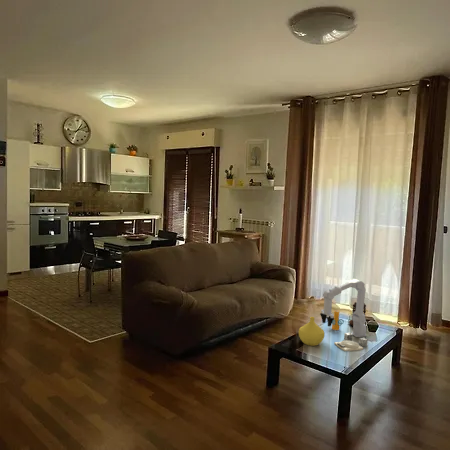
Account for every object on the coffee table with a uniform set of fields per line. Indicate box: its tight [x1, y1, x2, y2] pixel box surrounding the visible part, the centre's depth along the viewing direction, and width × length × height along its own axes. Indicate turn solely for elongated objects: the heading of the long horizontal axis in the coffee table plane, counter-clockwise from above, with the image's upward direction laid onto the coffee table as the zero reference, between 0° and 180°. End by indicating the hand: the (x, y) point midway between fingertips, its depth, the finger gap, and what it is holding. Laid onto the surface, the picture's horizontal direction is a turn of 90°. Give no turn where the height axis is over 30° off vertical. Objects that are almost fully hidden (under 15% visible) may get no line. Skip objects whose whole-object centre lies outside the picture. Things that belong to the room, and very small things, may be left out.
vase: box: [298, 316, 325, 347], centre depth 278 cm, size 18×18×19 cm
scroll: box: [348, 301, 367, 326], centre depth 321 cm, size 15×15×20 cm
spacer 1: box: [343, 332, 353, 341], centre depth 288 cm, size 4×4×5 cm
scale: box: [333, 340, 364, 352], centre depth 276 cm, size 15×13×2 cm
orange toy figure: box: [331, 309, 345, 331], centre depth 311 cm, size 12×10×15 cm
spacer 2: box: [358, 337, 368, 348], centre depth 279 cm, size 4×4×5 cm
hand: (326, 324), depth 291 cm, fingers open, 7 cm apart
